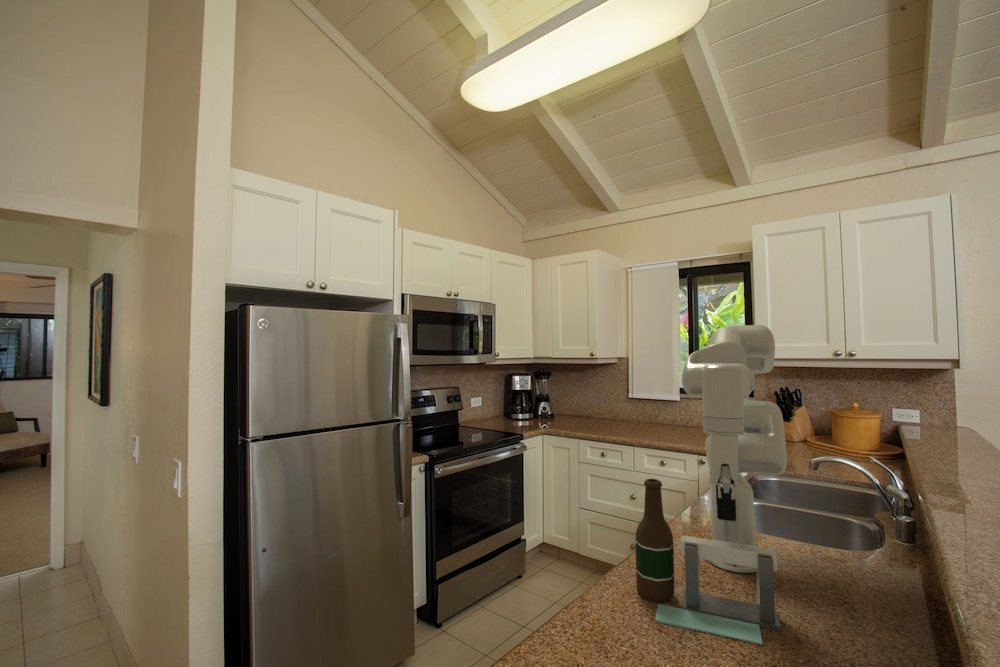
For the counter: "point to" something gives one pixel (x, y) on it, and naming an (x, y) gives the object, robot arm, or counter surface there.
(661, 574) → the beer bottle
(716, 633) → the mat
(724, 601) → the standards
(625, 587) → the counter surface
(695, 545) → the rail
